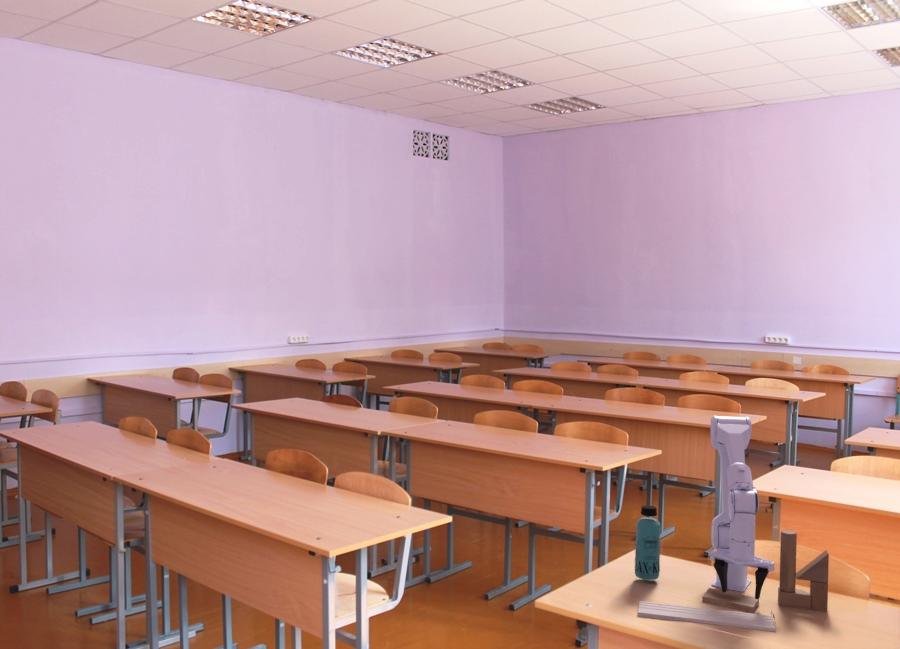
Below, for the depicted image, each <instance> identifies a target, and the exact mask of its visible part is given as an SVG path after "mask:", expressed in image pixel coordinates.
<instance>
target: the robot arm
mask: <svg viewBox="0 0 900 649" xmlns="http://www.w3.org/2000/svg"><path fill="white" fill-rule="evenodd" d="M709 424H710V428H709V429H710V444H711V448H713V449H714V450H717V451H718V456H719V458H720V459H719V461H720V462H719V463H720V484H721V486H720V487H721V512H720V513H719V514H718V515H716V516H715V517H713V519H712V521H711V531H710V538H711V540H710V541H711V546H712V548H713V550H711V552H710V554H709V555H710V557H709V558H710V559H709V560H710V561H712V562H713V561H714V563H713V567H714V568H713V569H714V570H715V572H716V577H715V579H714V581H712V583H711V586H712V587H716V588H720V589H721V590H722V592H728V591H727V590H730V591H735V592H739V593H744V592H745V591H746V589H747V588H748V586H749V585H750V584H751V583H752V579H748V568H749V567H750V568H755V569H756V570H755V572H754V576H755V590H754V597H755V599H759V600H760V598H761V592H762V590H763V586H764V582H765V581H766V578H767V576H768V574H769V573H770V572H771V573H773V572H774V571H775V561H771V560H768V559H765V558H760V557H757V556H755V549H756V547H755V546H756V544H755V543H756V516H757V515H758V513H759V508H760V499H759V494H758V491H757V489H756V487H755V486H754V481H753V478H752V477H753V476H752V470H751V468H750V467H749V465H747V464H746V460H745V459H746V454H745V450H747V448H748V446H749V443H750V439H751V438H752V430H753V428H752V426H753V424H752V420H751V418H750V417H749V416H727V415H726V416H719V415H715V414H713V416H711V418H710V423H709Z"/></svg>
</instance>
